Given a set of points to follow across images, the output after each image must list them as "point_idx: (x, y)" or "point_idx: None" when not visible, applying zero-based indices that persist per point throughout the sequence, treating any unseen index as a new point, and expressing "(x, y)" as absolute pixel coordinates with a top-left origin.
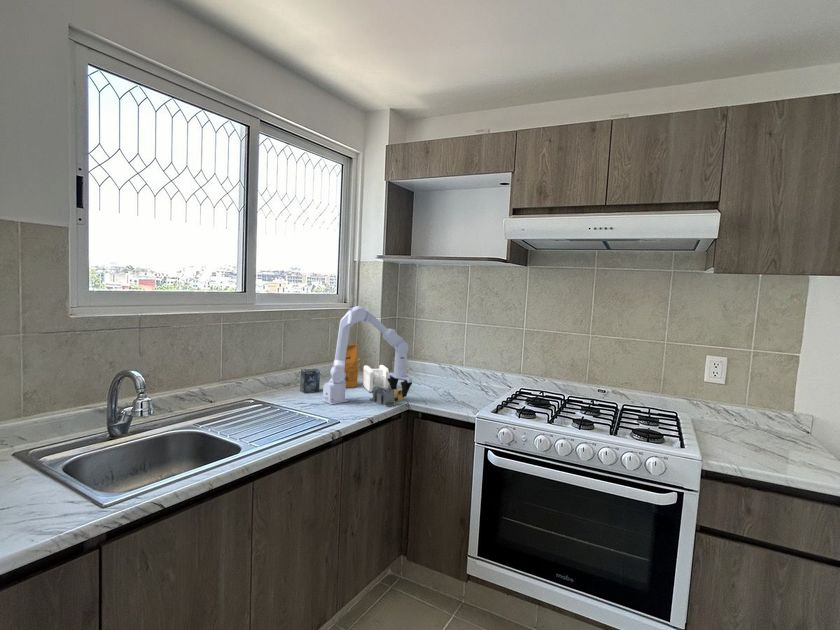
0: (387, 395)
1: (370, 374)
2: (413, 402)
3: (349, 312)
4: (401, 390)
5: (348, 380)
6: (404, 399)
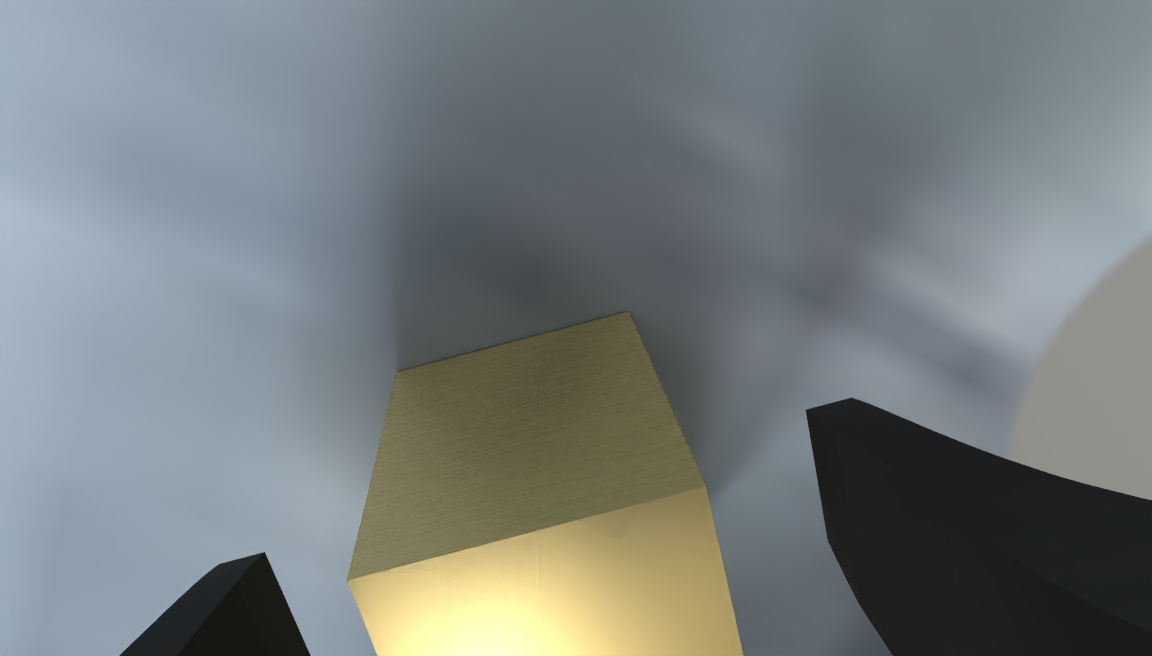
0: None
1: None
2: (978, 166)
3: None
4: (740, 653)
5: None
6: (632, 319)
